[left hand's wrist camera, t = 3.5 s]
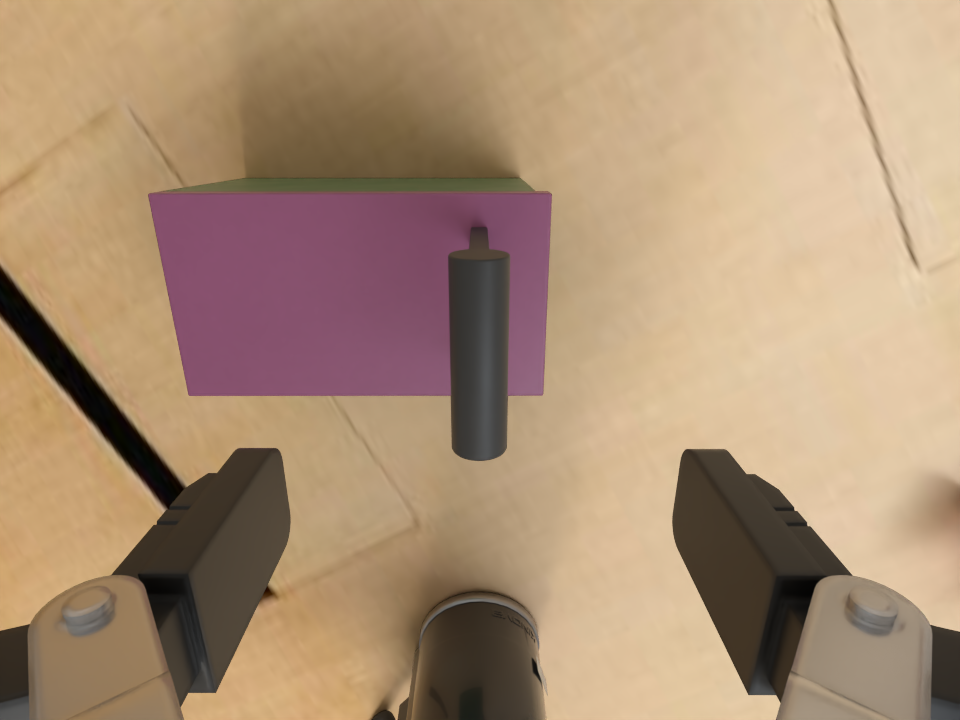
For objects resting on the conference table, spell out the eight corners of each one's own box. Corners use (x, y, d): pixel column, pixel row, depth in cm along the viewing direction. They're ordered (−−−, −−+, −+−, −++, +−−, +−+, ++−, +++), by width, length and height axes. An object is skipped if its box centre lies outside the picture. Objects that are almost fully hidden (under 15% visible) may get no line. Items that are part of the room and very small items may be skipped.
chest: (521, 177, 33) (536, 191, 24) (517, 327, 36) (529, 386, 28) (244, 178, 33) (160, 191, 24) (266, 327, 36) (198, 387, 28)
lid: (549, 191, 24) (585, 216, 16) (541, 387, 28) (567, 492, 19) (160, 191, 24) (-5, 217, 16) (198, 387, 28) (77, 493, 19)
